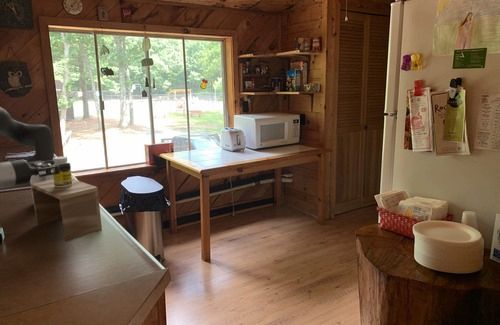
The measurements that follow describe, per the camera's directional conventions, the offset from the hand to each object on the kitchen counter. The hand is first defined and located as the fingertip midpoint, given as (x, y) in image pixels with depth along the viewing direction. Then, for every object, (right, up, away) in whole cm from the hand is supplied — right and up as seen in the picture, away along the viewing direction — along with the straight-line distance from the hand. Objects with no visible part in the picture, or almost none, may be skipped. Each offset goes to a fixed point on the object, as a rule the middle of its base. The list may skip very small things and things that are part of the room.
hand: (64, 164), depth 121 cm
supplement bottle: (0, -8, +1) cm, 8 cm away
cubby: (-1, -22, +5) cm, 23 cm away
